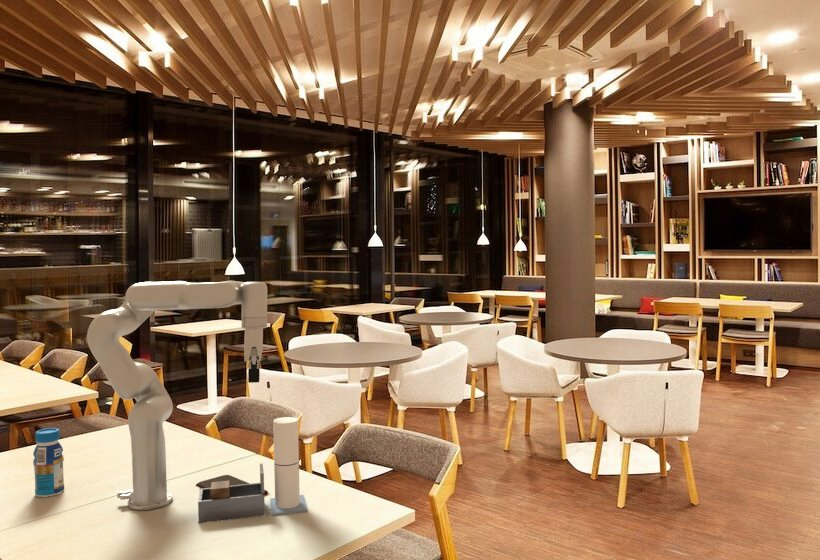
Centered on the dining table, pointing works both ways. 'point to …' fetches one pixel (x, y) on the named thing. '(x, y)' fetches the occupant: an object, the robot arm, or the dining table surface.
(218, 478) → the smartphone
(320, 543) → the dining table surface
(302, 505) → the mat
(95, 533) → the dining table surface
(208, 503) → the rack
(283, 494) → the cylindrical container
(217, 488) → the walnut offcut upper
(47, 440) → the beverage bottle
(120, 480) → the dining table surface
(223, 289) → the robot arm
